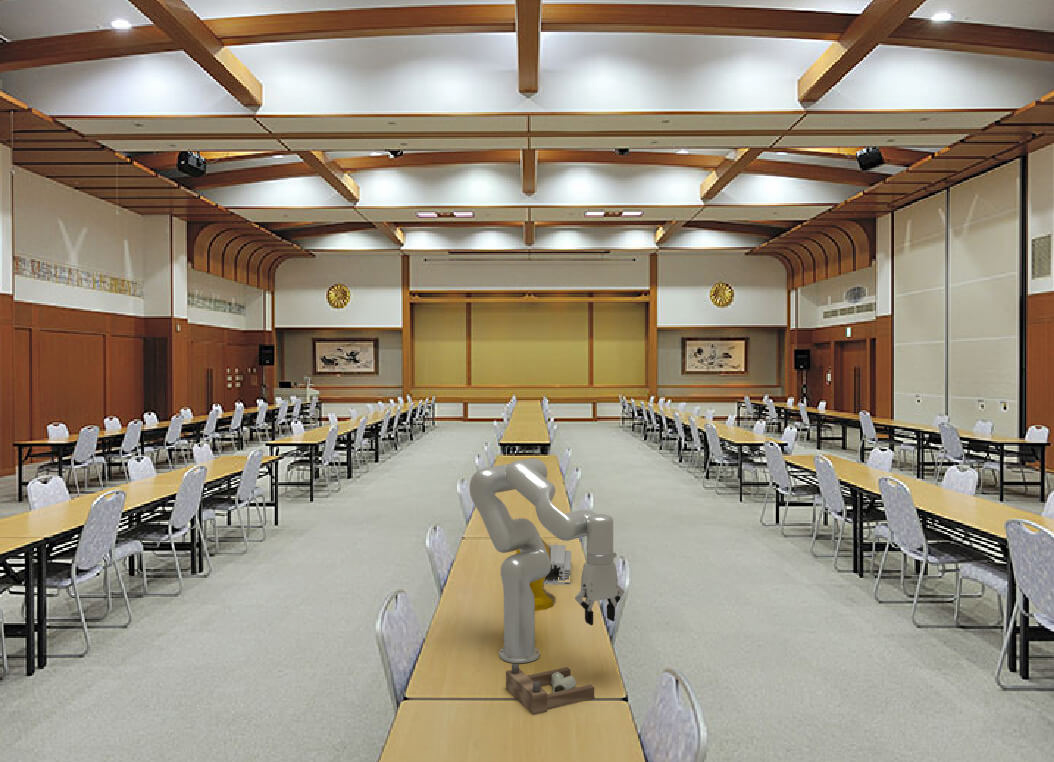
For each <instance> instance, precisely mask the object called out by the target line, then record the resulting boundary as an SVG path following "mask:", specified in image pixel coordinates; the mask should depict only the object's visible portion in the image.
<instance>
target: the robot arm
mask: <svg viewBox="0 0 1054 762" xmlns="http://www.w3.org/2000/svg"><path fill="white" fill-rule="evenodd" d="M547 477H548V469H547V465H546V464H545V463H544V462H543V461H542V460H540V459H539V458H523V459H519V460H514V461H512V462H510V463H508V464H500V465H494V466H488V467H483V468H482V469H478V470H477V471H476V472H474V474H472V477H471V479H470V480H469V481H470V482H469V494H470V498H471V501H472V502H473V504H474V506H475V508H476V510H477V511H478V512H479V515H480V517H481V519H482V521H483V524H484V527H485V528H486V531H487V534H488V536H489V538H490V540H491V543H492V544H493V547H494V549H495V550H496V551H497V552H499V553H501V554H505V553H512V552H516V550H519V549H520V551H521V553H518V554H516V553H515V554H513V555H510V556H508V557H506V558H505V559H504V560H503V562H502V563H501V566H500V578H501V582H502V583H501V584H502V588H503V589H502V590H503V637H502V640H503V647H502V648H501V649H499V650H498V653H499V654H498V656H499V658H500V659H501V660H503V661H505V662H508V663H513V664H525V663H531V662H534V661H536V660H538V658H539V657H540V655H541V653H540V650H539V648H537V647H536V646H535V645H536V643H535V642H536V641H535V640H536V637H535V636H536V635H535V634H536V633H535V632H536V631H535V629H536V628H535V627H536V626H535V624H536V623H535V621H536V619H535V612H536V611H535V603H534V595H533V592H532V590H531V588H530V583H531V582H533V581H536V580H539V579H542V578H544V577H546V576H547V575H548V574H549V572H550V569H551V562H550V558H549V555H548V553H547V551H546V548H545V546H544V544H543V542H542V540H543V539H542V537H541V536H540V535H541V534H540V533H539V531H538V528H536V525H534V523H533V522H532V521H531V520H529V519H528V518H525V517H521V518H520V517H519V518H514V519H513V518H512V516H511V514H510V512H509V510H508V508H507V506H506V505H505V504H504V502H503V501H502V500H501V499H500V498H499V497H498V496H496V494H497V493H498V494H499V493H503V492H509V491H514V490H515V491H517V492H518V493H520V495H522V496H523V497H524V498H525V499H526V500H527V501H529V502H530V503H531V504H532V505H533V506H534V508H535V513H536V515H537V518H538V521H539V522H540V524H541V526H542V527H544V529H546V530H547V531H548V532H549V533H551V535H553V536H554V537H556V538H557V539H558V540H561V541H563V542H569V541H572V540H575V539H578V538H583V537H586V562H585V563H584V564H583V566H582V567H583V568H582V571H581V572H582V573H581V582H580V591H579V592H578V593H577V595H575V597H574V599H575V600H576V602H577V603H578V604H579V606H581V607H582V609H584V621H585V623H586V624H588V625H589V626H593V625H594V611H593V607H594V605H595V604H594V603H595V602H597V601H603V600H607V603H608V604H606V619H607V620H609V621H611V622H615V619H616V618H615V617H616V607H617V606H618V603H619V601H620V600H621V598H622V597H623V595H624V594H625V590H624V589H623V588H622V587H621V586H620V585H619V579H618V578H619V577H618V572H617V571H618V570H617V567H616V566H617V565H616V563H615V562H614V561H615V560H614V559H615V558H617V553H616V552H614V520H613V517H612V516H611V515H609V514H605V513H595V512H593V511H590V510H588V509H579V510H574V511H570V512H565V513H564V512H562V511H561V510H560V509H558V508H557V507H556V506H555V504H554V503H553V502H552V501H553V499H554V497H555V495H556V487H555V485H554V483H552V482H551V481H550V480H549V479H547ZM583 599H585V600H583Z"/></svg>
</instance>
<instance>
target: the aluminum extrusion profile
mask: <svg viewBox="0 0 1054 762" xmlns="http://www.w3.org/2000/svg"><path fill="white" fill-rule="evenodd" d="M548 545H549V546H550V547H551V569H550V572H549V574H548V575H547V576H546V578H545V579H544V585H558V586H559V585H562V586H565V585H566V586H569V585H570V586H571V584H572V581H571V582H558V581H565V580H569V576H570V573H571V574H572V551H571V550H566V547H567V546H566V545H565V544H557V543H556V542H555V543H554V544H551V543H550V542H549V543H548ZM558 577H559V580H558Z"/></svg>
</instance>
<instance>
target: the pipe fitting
mask: <svg viewBox="0 0 1054 762" xmlns="http://www.w3.org/2000/svg"><path fill="white" fill-rule="evenodd" d="M576 684H577V681H576V679H575V677H574V676H572V675H571V676H568V677H565V678H564V676H563V675H562V674H561V673H559V672H556V673H554V674H552V675H551V684H550V685H552V693H555V692H559V691H563V690H568V689H572V688H576Z"/></svg>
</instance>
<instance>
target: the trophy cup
mask: <svg viewBox="0 0 1054 762" xmlns="http://www.w3.org/2000/svg"><path fill="white" fill-rule="evenodd" d="M542 542H543V544H544V546H545V548H546V551H547V553H548V555H549V558H550V562H551V547H550V546H549V543H547V542H545V540H543V539H542ZM518 553H521V551H520V549H519V550H515V554H518ZM545 578H546V577H544V578H542V579H539V580H536V581H533V582H531V583H530V588H531V590H532V592H533V595H534V603H535V612H538V611H545V610H548V609H551V608H553V607H554V606H555V604H556V603H557V602H556V599H557V598H556V597H555V595H554V594H552V593H550V592H548V591H547V590H546V589H545V584H544V579H545Z"/></svg>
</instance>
